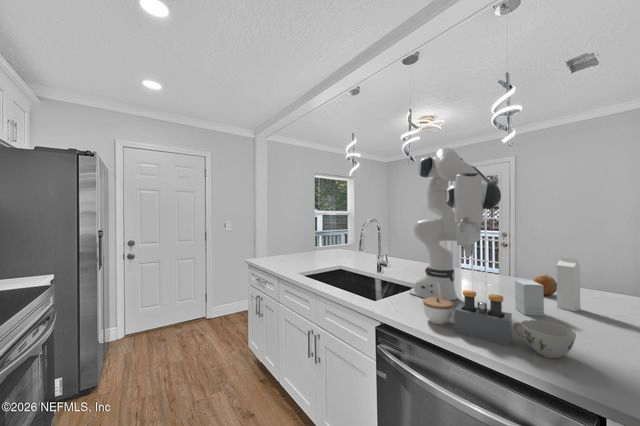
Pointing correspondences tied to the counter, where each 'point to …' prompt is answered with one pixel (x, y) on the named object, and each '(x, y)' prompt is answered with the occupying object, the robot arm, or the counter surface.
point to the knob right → (496, 305)
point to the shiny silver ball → (482, 307)
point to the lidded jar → (438, 310)
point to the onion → (547, 284)
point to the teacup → (547, 337)
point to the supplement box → (529, 298)
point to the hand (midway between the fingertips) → (469, 255)
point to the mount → (484, 325)
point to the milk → (568, 284)
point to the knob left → (469, 300)
